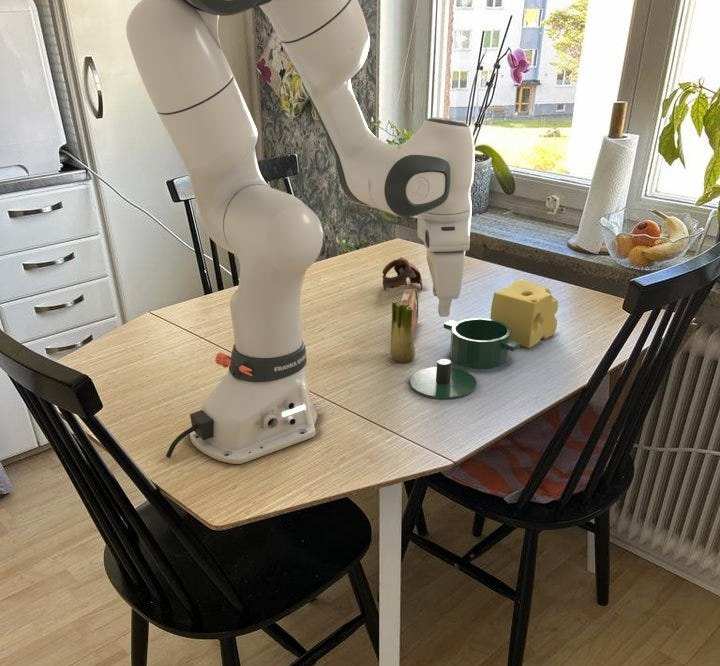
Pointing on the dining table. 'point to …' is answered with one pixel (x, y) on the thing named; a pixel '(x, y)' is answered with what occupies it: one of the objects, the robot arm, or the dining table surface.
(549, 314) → the cheese
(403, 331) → the fennel bulb
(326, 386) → the dining table surface
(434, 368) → the lid
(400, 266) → the brown rounded piece
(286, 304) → the robot arm
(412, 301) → the tin
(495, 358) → the pot
